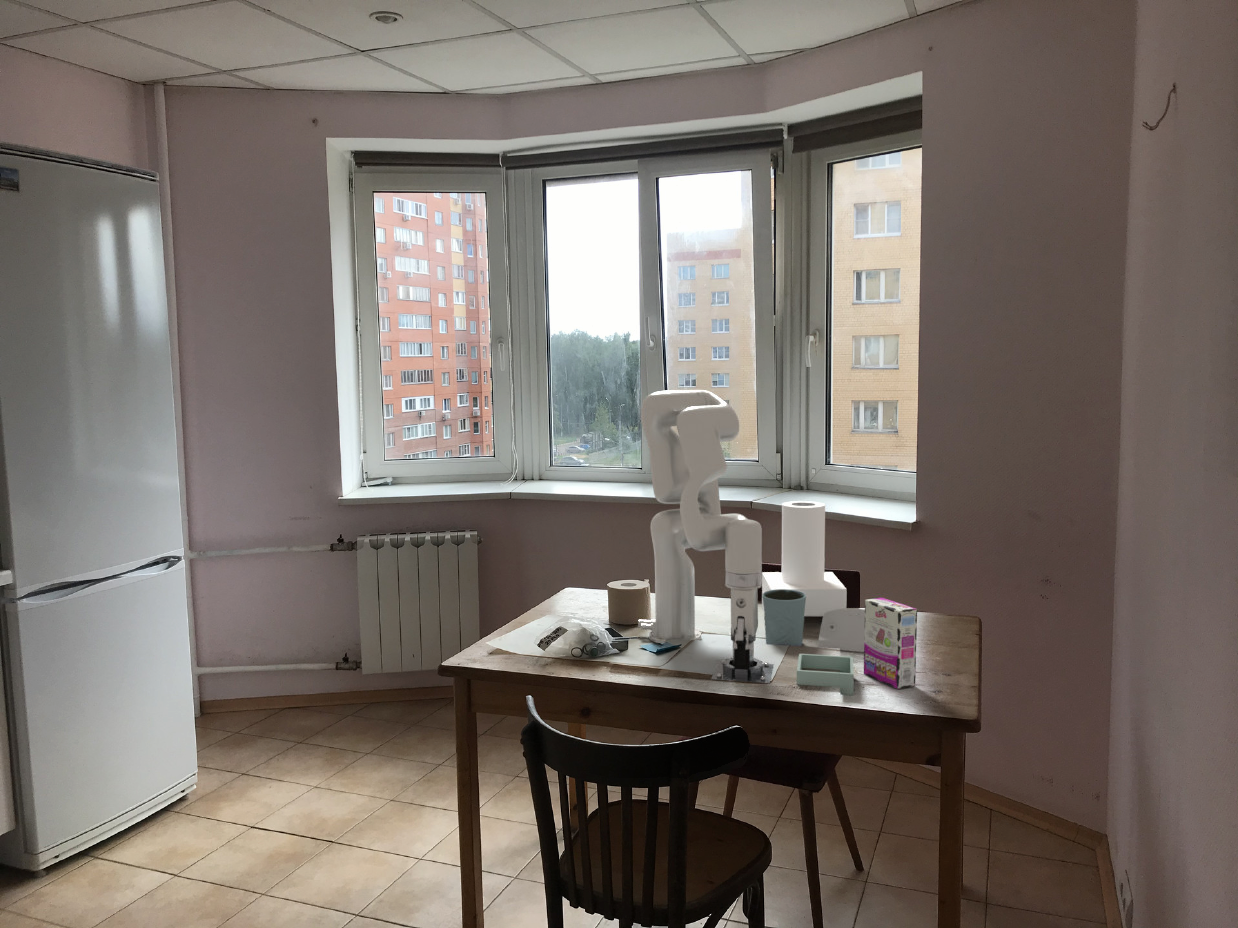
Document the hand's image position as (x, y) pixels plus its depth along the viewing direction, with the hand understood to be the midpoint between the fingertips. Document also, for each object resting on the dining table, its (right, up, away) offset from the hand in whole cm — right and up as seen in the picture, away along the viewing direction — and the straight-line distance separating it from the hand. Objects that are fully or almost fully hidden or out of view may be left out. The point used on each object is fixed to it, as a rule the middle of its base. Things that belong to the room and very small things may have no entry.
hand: (743, 662), depth 195 cm
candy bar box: (+30, -4, -2) cm, 31 cm away
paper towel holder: (+22, +2, +46) cm, 50 cm away
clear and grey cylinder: (0, -2, 0) cm, 2 cm away
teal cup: (+13, -1, +24) cm, 27 cm away
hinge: (+29, -1, +21) cm, 36 cm away
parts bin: (+17, -4, -4) cm, 17 cm away
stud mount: (0, -3, 0) cm, 4 cm away
